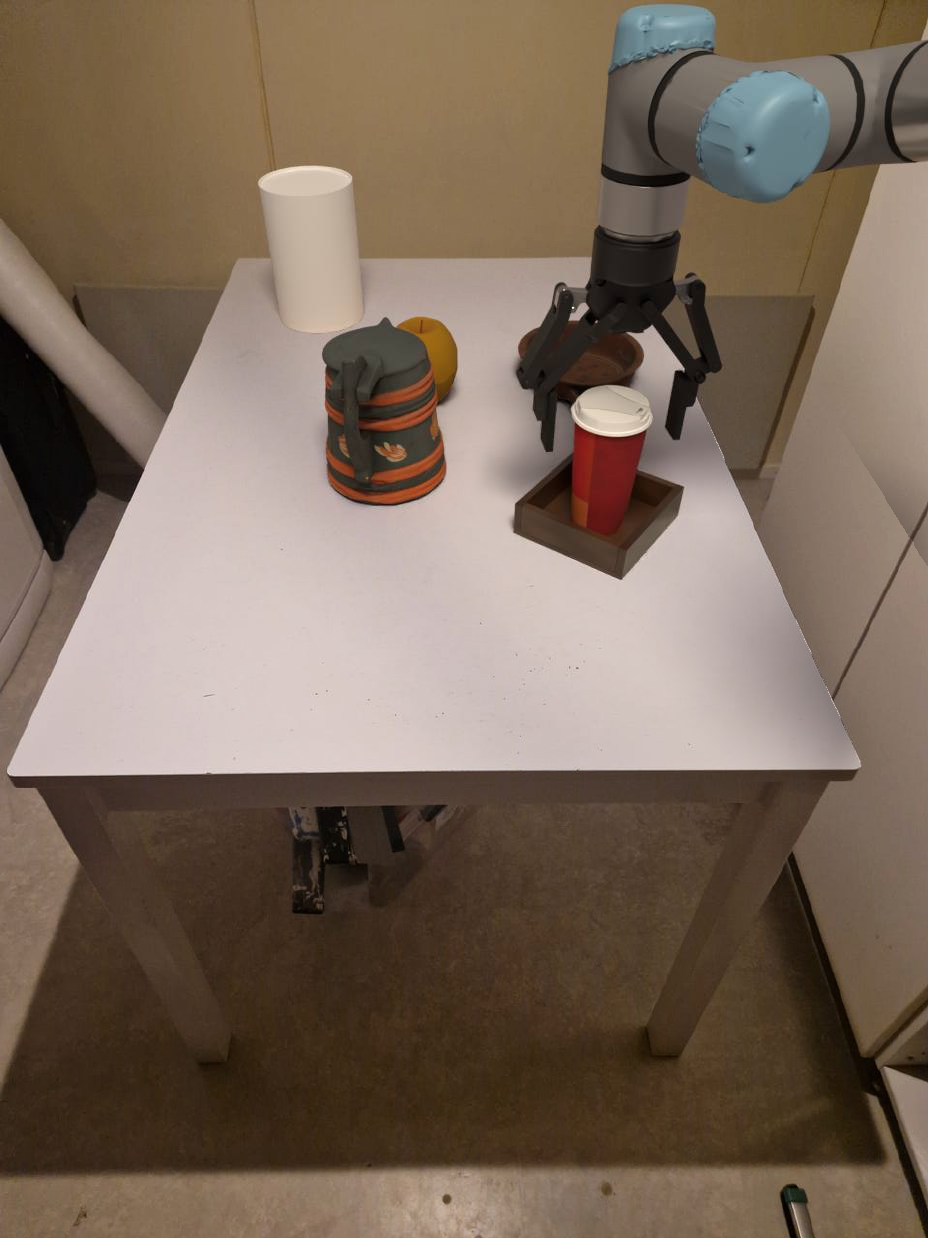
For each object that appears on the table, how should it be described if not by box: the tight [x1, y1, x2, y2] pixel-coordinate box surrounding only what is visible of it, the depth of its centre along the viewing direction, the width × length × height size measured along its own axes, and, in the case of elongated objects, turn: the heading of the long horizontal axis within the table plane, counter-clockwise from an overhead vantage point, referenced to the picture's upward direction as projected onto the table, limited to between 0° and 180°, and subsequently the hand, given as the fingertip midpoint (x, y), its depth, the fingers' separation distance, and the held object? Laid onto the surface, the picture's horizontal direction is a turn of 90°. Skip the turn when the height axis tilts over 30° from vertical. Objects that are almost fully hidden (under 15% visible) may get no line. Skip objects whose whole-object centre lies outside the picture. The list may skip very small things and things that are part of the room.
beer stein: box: [321, 316, 447, 505], centre depth 93 cm, size 19×15×20 cm
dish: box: [517, 319, 645, 406], centre depth 116 cm, size 18×22×5 cm
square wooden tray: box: [513, 451, 685, 581], centre depth 93 cm, size 14×14×4 cm
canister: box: [257, 165, 365, 334], centre depth 127 cm, size 14×14×20 cm
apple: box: [395, 316, 459, 403], centre depth 110 cm, size 10×10×12 cm
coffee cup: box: [570, 385, 653, 536], centre depth 89 cm, size 8×8×15 cm
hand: (609, 439), depth 86 cm, fingers open, 13 cm apart
